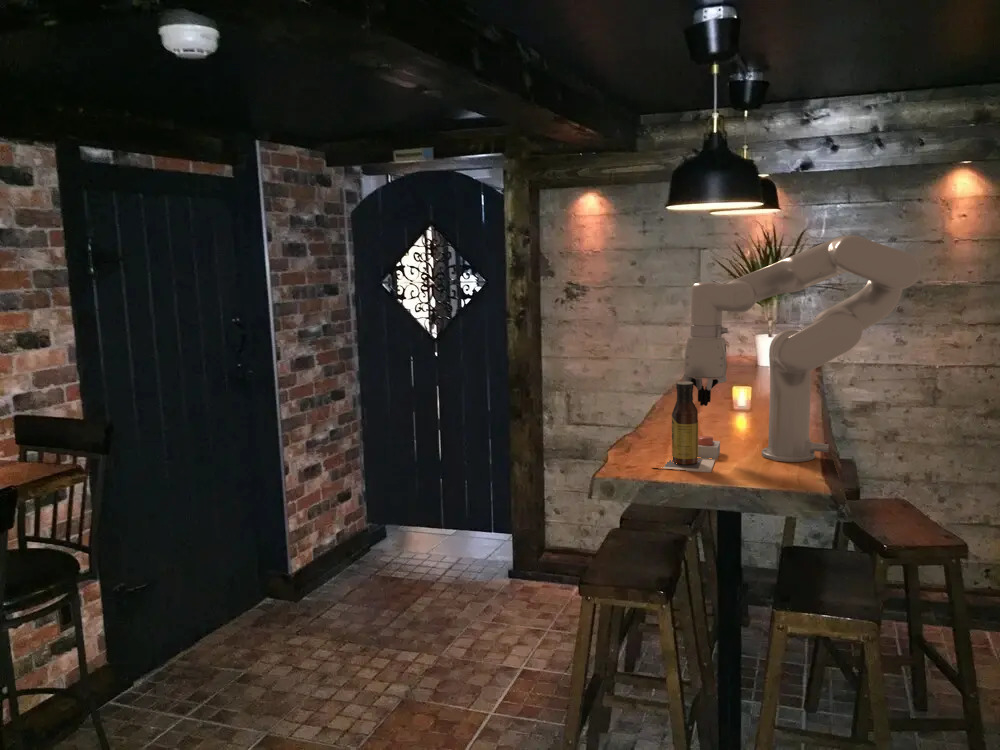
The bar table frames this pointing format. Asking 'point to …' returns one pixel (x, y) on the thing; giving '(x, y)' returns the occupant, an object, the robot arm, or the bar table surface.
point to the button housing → (709, 450)
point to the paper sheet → (693, 465)
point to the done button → (705, 440)
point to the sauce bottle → (685, 426)
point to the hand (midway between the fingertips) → (704, 404)
